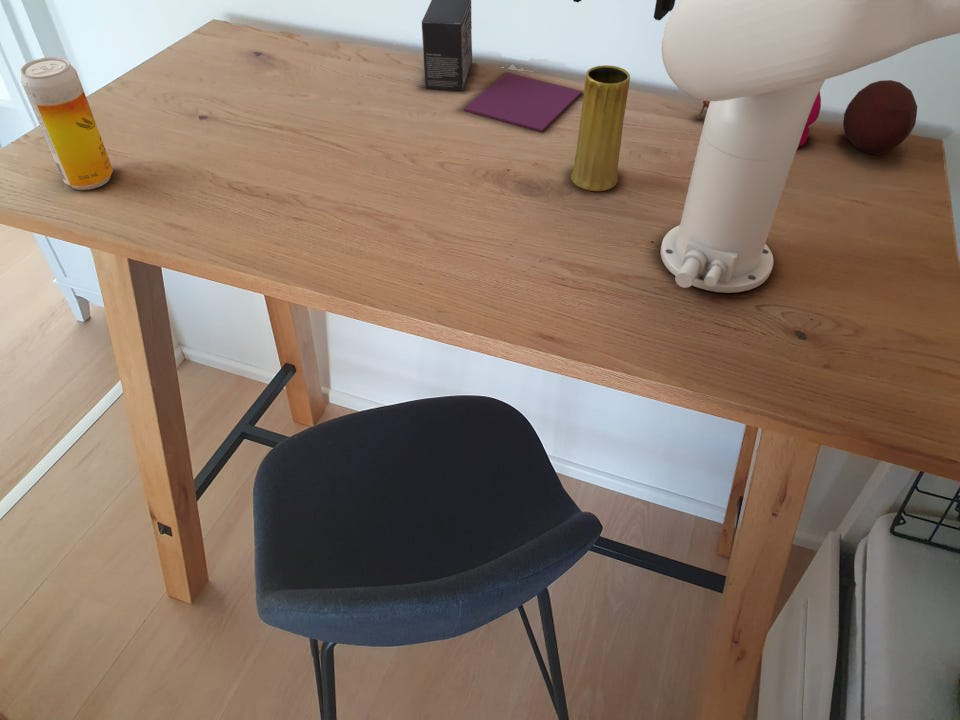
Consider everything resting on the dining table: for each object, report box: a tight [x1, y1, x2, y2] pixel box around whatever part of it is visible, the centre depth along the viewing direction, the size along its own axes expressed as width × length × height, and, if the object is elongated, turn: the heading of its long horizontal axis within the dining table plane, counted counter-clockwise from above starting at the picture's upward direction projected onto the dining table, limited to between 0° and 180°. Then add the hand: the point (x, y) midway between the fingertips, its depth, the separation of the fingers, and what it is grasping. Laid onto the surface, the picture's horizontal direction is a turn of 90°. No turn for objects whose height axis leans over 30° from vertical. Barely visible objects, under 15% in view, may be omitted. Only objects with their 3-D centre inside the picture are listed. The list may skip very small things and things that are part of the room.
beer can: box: [20, 56, 114, 191], centre depth 94 cm, size 6×6×15 cm
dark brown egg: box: [842, 79, 918, 155], centre depth 104 cm, size 9×12×9 cm
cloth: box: [463, 72, 583, 133], centre depth 116 cm, size 14×13×1 cm
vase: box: [570, 64, 631, 192], centre depth 96 cm, size 6×6×14 cm
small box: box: [421, 0, 473, 92], centre depth 119 cm, size 11×6×10 cm, turn 173°
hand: (620, 7), depth 86 cm, fingers open, 9 cm apart
